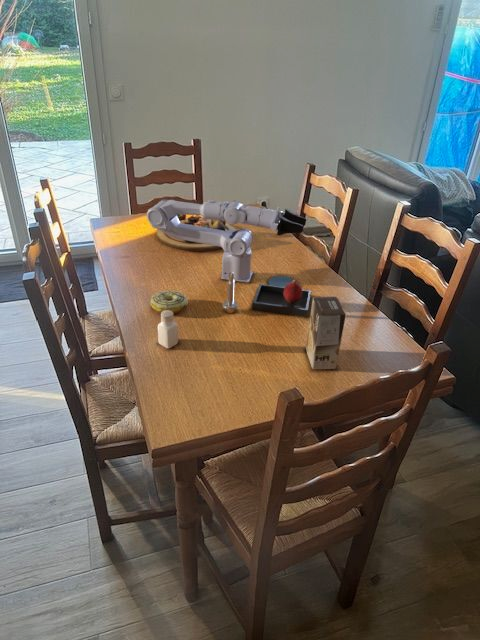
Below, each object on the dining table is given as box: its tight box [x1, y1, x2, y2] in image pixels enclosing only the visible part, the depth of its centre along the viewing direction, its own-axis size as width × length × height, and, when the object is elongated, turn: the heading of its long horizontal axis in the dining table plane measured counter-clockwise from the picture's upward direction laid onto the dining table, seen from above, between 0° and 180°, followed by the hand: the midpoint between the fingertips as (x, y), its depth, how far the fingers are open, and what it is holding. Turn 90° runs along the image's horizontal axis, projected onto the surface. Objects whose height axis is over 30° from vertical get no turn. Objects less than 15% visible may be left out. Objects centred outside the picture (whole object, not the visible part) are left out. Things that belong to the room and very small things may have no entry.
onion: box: [283, 279, 303, 304], centre depth 142 cm, size 6×6×8 cm
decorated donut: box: [150, 290, 189, 315], centre depth 139 cm, size 10×11×4 cm
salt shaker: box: [157, 310, 179, 349], centre depth 122 cm, size 4×4×10 cm
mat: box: [267, 275, 298, 287], centre depth 156 cm, size 10×10×1 cm
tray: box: [251, 283, 312, 318], centre depth 145 cm, size 17×13×2 cm
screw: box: [221, 272, 239, 314], centre depth 136 cm, size 13×5×5 cm
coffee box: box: [305, 296, 347, 370], centre depth 117 cm, size 9×6×16 cm
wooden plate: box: [155, 214, 236, 252], centre depth 186 cm, size 32×32×8 cm
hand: (304, 225), depth 144 cm, fingers open, 7 cm apart
